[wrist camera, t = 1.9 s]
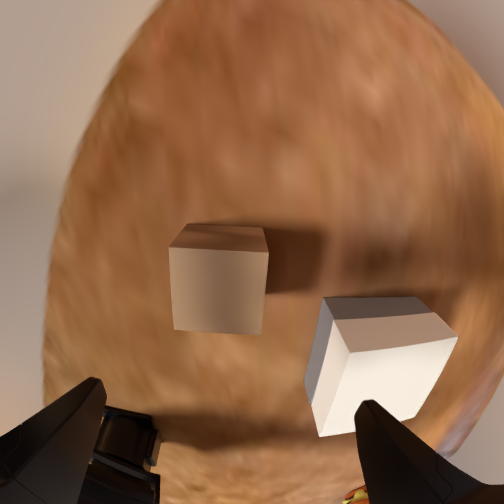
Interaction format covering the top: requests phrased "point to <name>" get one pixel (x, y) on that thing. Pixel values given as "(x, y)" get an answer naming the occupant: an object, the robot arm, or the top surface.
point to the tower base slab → (352, 310)
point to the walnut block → (218, 278)
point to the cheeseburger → (357, 496)
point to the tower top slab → (380, 367)
